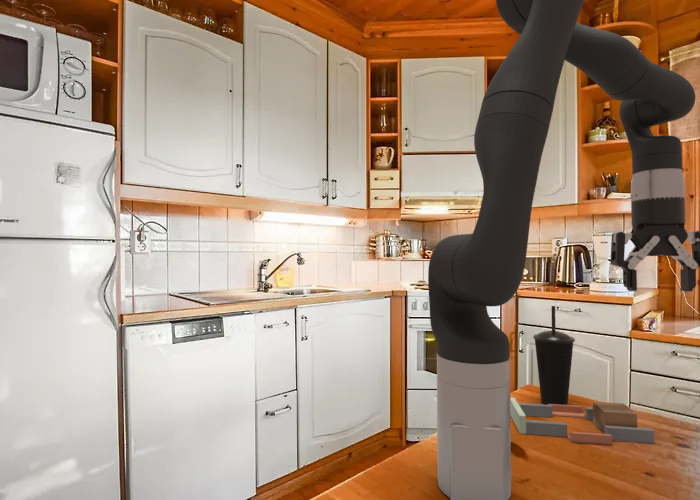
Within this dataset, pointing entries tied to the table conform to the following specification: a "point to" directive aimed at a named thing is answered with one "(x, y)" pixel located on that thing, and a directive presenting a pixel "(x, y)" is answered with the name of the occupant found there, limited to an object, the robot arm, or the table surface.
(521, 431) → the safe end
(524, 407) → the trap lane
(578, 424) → the table surface
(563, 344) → the drinking cup
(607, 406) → the walnut block
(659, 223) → the robot arm
